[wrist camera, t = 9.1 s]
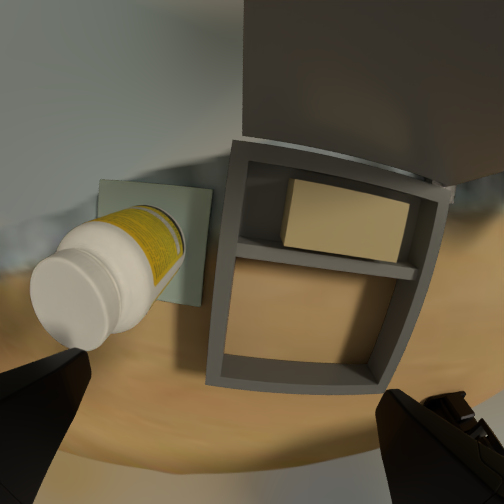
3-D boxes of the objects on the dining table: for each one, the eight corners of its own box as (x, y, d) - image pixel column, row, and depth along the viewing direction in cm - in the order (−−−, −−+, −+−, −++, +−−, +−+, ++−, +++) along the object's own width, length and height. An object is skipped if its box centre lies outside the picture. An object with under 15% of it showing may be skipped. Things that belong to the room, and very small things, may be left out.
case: (373, 372, 22) (385, 396, 19) (210, 361, 21) (204, 388, 18) (429, 187, 17) (455, 191, 14) (235, 144, 17) (231, 138, 14)
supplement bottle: (123, 192, 17) (21, 217, 8) (197, 219, 18) (140, 271, 8) (106, 265, 19) (20, 331, 9) (174, 293, 19) (119, 386, 10)
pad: (201, 304, 20) (200, 307, 19) (101, 286, 20) (98, 288, 19) (213, 189, 18) (212, 189, 17) (102, 179, 17) (99, 179, 17)
